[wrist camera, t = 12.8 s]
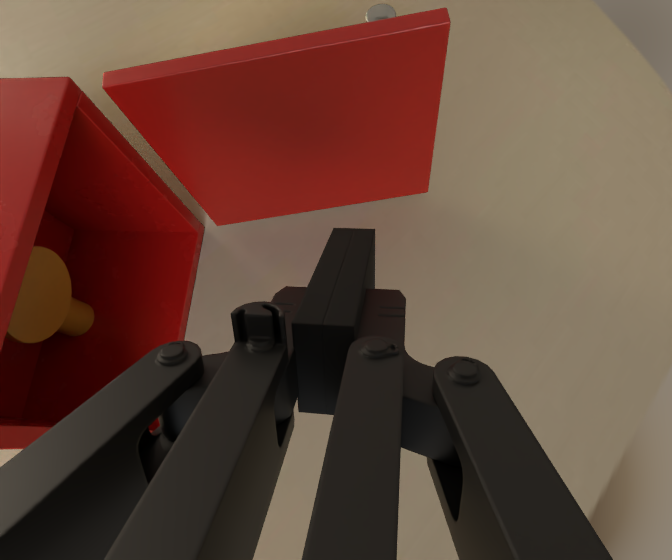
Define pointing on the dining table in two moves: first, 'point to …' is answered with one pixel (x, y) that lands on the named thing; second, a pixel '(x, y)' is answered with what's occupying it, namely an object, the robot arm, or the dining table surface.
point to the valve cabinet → (80, 256)
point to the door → (296, 116)
